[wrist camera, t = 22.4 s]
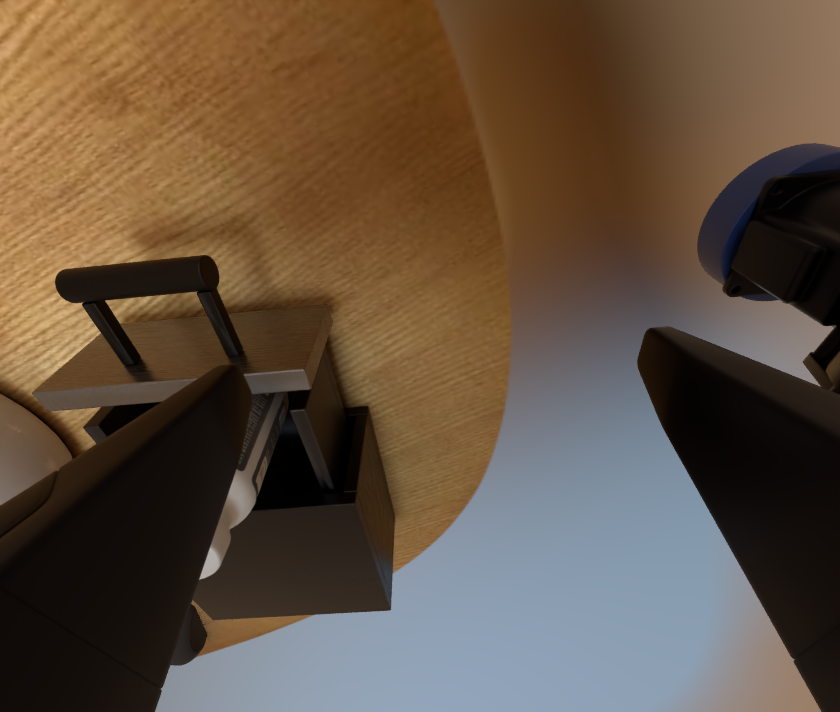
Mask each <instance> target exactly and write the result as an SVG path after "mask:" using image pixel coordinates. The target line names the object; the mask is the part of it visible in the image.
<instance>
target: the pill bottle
mask: <svg viewBox="0 0 840 712" xmlns="http://www.w3.org/2000/svg"><path fill="white" fill-rule="evenodd" d="M252 397H253V399H252V406H251V410H250V415H249V420H248V424H247V429H246V434H245V438H244V443H243V448H242V452H241V456H240V460H239V463H238V466H237V469H236V472H235V475H234V478H233V481H232V484H231V487H230V490H229V493H228V496H227V499H226V502H225V505H224V508H223V511H222V514H221V517H220V520H219V523H218V526H217V529H216V531H215V534H214V537H213V540H212V543H211V546H210V549H209V552H208V555H207V558H206V561H205V564H204V567H203V570H202V573H201V576H200V579H203V578H206V577H208V576H210V575H212V574H214V573H215V572H216V571H217V570H218V569H219V567H220V565H221V563H222V561H223V558H224V556H225V553H226V551H227V548H228V546H229V544H230V540H231V535H230V529H231V528H233V527H234V526H236V525H238V524H239V523H240V522H242V521H243V520H244V519H245V518H246V517H247V516H248V514H249V513H250V511H251V510H252V508H253V507H254V505H255V503H256V499H257V496H258V494H259V491H260V488H261V485H262V482H263V479H264V476H265V473H266V470H267V468H268V465H269V463H270V460H271V457H272V454H273V451H274V448H275V446H276V443H277V440H278V437H279V435H280V432H281V429H282V426H283V424H284V421H285V417H286V414H287V411H288V406H289V400H288V393H287V392H276V393H264V394H252ZM200 579H199V580H200Z"/></svg>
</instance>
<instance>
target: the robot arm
mask: <svg viewBox="0 0 840 712" xmlns="http://www.w3.org/2000/svg"><path fill="white" fill-rule="evenodd" d="M777 184H778V186H777V188H776V189H775V190H773V188H774V186H775V185H777ZM772 190H773V191H772ZM735 286H736V287H735ZM733 287H735V288H734V289H732V288H733ZM723 292H724V293H725V294H727V295H728V296H729V297H739V296H750V295H761V294H771V295H773V296H774V297H776V298H777V299H779V300H780V301H782V302H783V303H787V304H788V303H789V304H790V305H792V306H794V307H795V308H797V309H798V310H800V311H801V312H803V313H804V314H806V315H808V316H809V317H811V318H812V319H814V320H815V321H817V322H819V323H820V324H822V325H823V326H832V327H834V329H833V330H832V331H831V332H830V334H829V335H828V336H827V337H826V338H825V339H824V341H823V342H822V343H821V344H820V345H819V346H818V348H817V349H816V350H815V351H814V352H811V353H810V354H809V355H808V356H807V357H806V358H805V359H804V361H803V363H804V365H805V366H806V367H807V369H808V370H809V371H810V373H811V374H812V375H813V376H814V378H815V379H816V380H817V382H818V383H819V384H820V386H821V387H820V386H817V385H815V384H812V383H810V382H807V381H805V380H802V379H800V378H797V377H795V376H792V375H790V374H787V373H785V372H782V371H780V370H777V369H775V368H772V367H770V366H767V365H765V364H762V363H760V362H757V361H754V360H752V359H750V358H747V357H745V356H742V355H740V354H737V353H735V352H732V351H730V350H727V349H725V348H722V347H720V346H717V345H715V344H712V343H710V342H707V341H705V340H702V339H699V338H697V337H695V336H692V335H690V334H687V333H685V332H682V331H680V330H677V329H674V328H672V327H667V326H666V327H656V328H650V329H648V330H647V331H646V333H645V335H644V338H643V342H642V345H641V349H640V352H639V356H638V361H637V362H638V363H637V364H638V369H639V372H640V374H641V377H642V379H643V382H644V384H645V387H646V389H647V391H648V394H649V396H650V398H651V401H652V403H653V406H654V408H655V411H656V413H657V415H658V418H659V420H660V422H661V425H662V427H663V429H664V431H665V433H666V434H667V436H668V438H669V440H670V442H671V443H672V445H673V447H674V449H675V451H676V452H677V454H678V456H679V458H680V459H681V461H682V463H683V465H684V467H685V468H686V470H687V472H688V474H689V476H690V477H691V479H692V481H693V483H694V484H695V486H696V488H697V490H698V491H699V493H700V495H701V497H702V499H703V501H704V502H705V504H706V506H707V508H708V509H709V511H710V513H711V515H712V516H713V518H714V520H715V522H716V524H717V526H718V527H719V529H720V531H721V532H722V534H723V536H724V538H725V540H726V542H727V543H728V545H729V547H730V549H731V550H732V552H733V554H734V556H735V558H736V559H737V561H738V563H739V565H740V566H741V568H742V570H743V572H744V574H745V575H746V577H747V579H748V581H749V583H750V584H751V586H752V588H753V590H754V591H755V593H756V595H757V597H758V599H759V600H760V602H761V604H762V606H763V607H764V609H765V611H766V613H767V615H768V616H769V618H770V620H771V622H772V624H773V625H774V627H775V629H776V631H777V632H778V634H779V636H780V638H781V640H782V641H783V643H784V645H785V647H786V648H787V650H788V652H789V654H790V656H791V657H792V658H793V659H795V660H794V664H795V665H796V667H797V669H798V670H799V672H800V674H801V676H802V678H803V680H804V681H805V683H806V685H807V687H808V688H809V690H810V692H811V694H812V695H813V697H814V699H815V701H816V703H817V704H818V706H819V708H820V710H821V712H840V169H837V170H827V171H818V172H808V173H798V174H789V175H779V176H774V177H771V178H770V179H768V180H767V181H766V182H765V183H764V185H763V186H762V188H761V191H760V193H759V196H758V198H757V201H756V204H755V206H754V209H753V211H752V214H751V216H750V219H749V221H748V224H747V227H746V229H745V232H744V234H743V237H742V239H741V242H740V244H739V247H738V250H737V252H736V255H735V257H734V260H733V262H732V265H731V268H730V270H729V273H728V275H727V278H726V280H725V283H724V285H723ZM252 399H253V397H252V391H251V389H250V387H249V385H248V383H247V380H246V378H245V376H244V374H243V372H242V370H241V368H240V367H239V366H238V365H236V364H229V365H219V366H217V367H215V368H214V369H212V370H210V371H209V372H207V373H206V374H204V375H203V376H201V377H200V378H198V379H197V380H195V381H193V382H192V383H190V384H189V385H187V386H186V387H184V388H183V389H181V390H179V391H178V392H176V393H175V394H173V395H172V396H170V397H169V398H167V399H166V400H164V401H162V402H161V403H159V404H158V405H156V406H155V407H153V408H152V409H150V410H149V411H147V412H145V413H144V414H142V415H141V416H139V417H138V418H136V419H135V420H133V421H131V422H130V423H128V424H127V425H125V426H124V427H122V428H121V429H119V430H118V431H116V432H114V433H113V434H111V435H110V436H108V437H107V438H105V439H104V440H102V441H100V442H99V443H97V444H96V445H94V446H93V447H91V448H90V449H88V450H87V451H85V452H83V453H82V454H80V455H79V456H77V457H76V458H74V459H73V460H71V461H69V462H68V463H66V464H65V465H63V466H62V467H60V469H59V471H54V472H52V473H51V474H49V475H48V476H46V477H45V478H43V479H41V480H40V481H38V482H37V483H35V484H34V485H32V486H31V487H29V488H27V489H26V490H24V491H23V492H21V493H19V494H18V495H16V496H15V497H13V498H11V499H10V500H8V501H7V502H5V503H4V504H2V505H0V712H155V710H156V706H157V703H158V701H159V698H160V695H161V692H162V691H161V688H162V687H163V685H164V682H165V679H166V676H167V673H168V670H169V667H170V664H171V661H172V658H173V655H174V653H175V650H176V647H177V644H178V641H179V638H180V635H181V632H182V629H183V626H184V623H185V620H186V617H187V614H188V611H189V608H190V605H191V602H192V599H193V596H194V593H195V591H196V588H197V585H198V582H199V579H200V576H201V573H202V570H203V567H204V564H205V561H206V558H207V555H208V552H209V549H210V546H211V543H212V540H213V537H214V534H215V531H216V529H217V526H218V523H219V520H220V517H221V514H222V511H223V508H224V505H225V502H226V499H227V496H228V493H229V490H230V487H231V484H232V481H233V478H234V475H235V472H236V469H237V466H238V463H239V460H240V456H241V452H242V448H243V443H244V438H245V434H246V429H247V424H248V420H249V415H250V410H251V406H252Z"/></svg>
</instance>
